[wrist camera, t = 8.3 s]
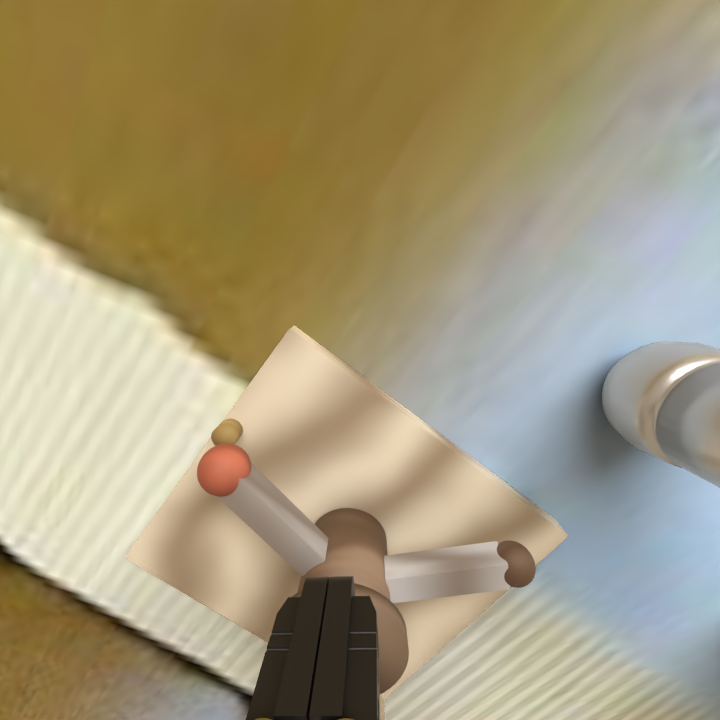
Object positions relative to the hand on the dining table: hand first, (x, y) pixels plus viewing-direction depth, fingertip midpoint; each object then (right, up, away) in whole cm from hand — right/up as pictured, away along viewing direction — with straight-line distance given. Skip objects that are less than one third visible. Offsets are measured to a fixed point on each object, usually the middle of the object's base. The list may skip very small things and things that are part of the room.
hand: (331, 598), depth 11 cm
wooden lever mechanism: (0, -5, +13) cm, 14 cm away
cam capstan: (-1, -2, +11) cm, 12 cm away
